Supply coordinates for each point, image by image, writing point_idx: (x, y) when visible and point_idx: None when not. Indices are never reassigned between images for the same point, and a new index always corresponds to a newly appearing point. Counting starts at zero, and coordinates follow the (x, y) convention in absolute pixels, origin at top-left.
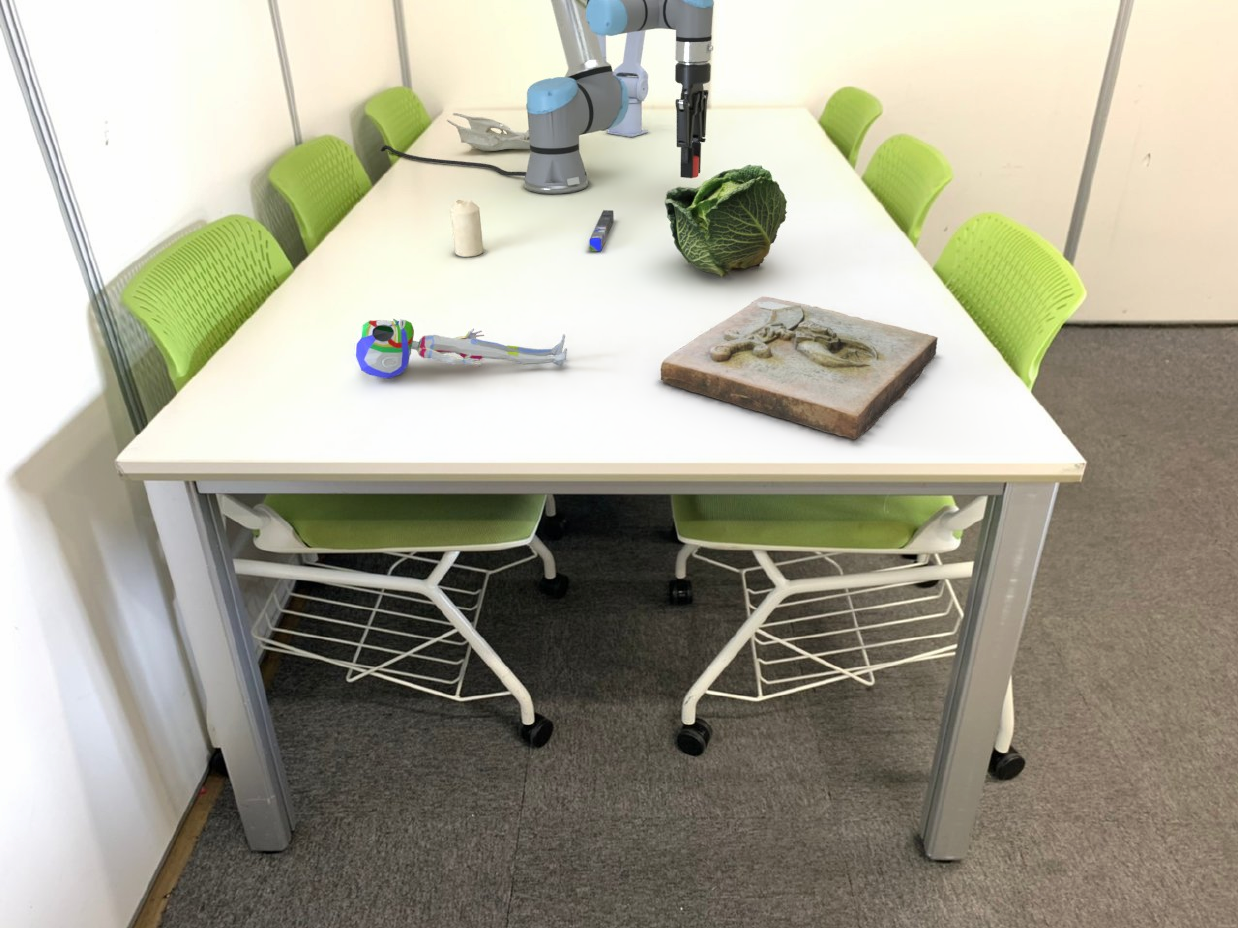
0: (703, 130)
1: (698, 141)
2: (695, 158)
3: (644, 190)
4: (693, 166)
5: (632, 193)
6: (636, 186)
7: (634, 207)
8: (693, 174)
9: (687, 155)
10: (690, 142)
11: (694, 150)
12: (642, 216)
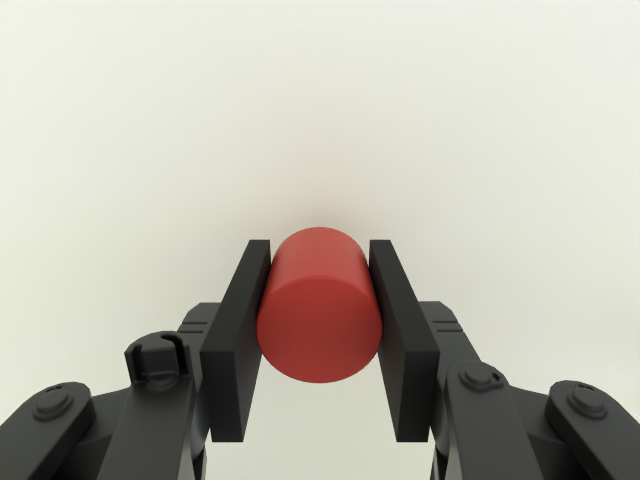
0: (45, 457)
1: (195, 386)
2: (341, 291)
3: (286, 408)
4: (362, 270)
5: (338, 426)
6: (251, 445)
7: (505, 362)
8: (355, 248)
9: (465, 339)
10: (504, 407)
11: (248, 353)
12: (616, 298)
